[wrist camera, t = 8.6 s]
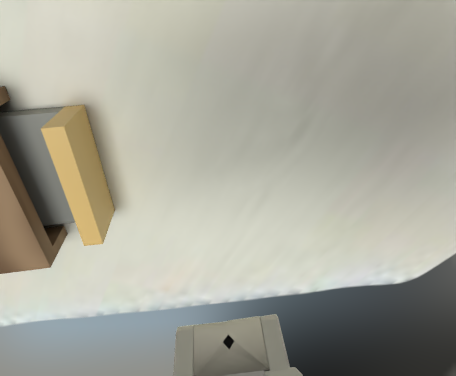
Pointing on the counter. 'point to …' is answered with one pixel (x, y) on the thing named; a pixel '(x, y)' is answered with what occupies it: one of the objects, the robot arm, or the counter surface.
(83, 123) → the grey board with lip
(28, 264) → the overhang shelf
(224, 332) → the robot arm
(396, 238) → the counter surface
